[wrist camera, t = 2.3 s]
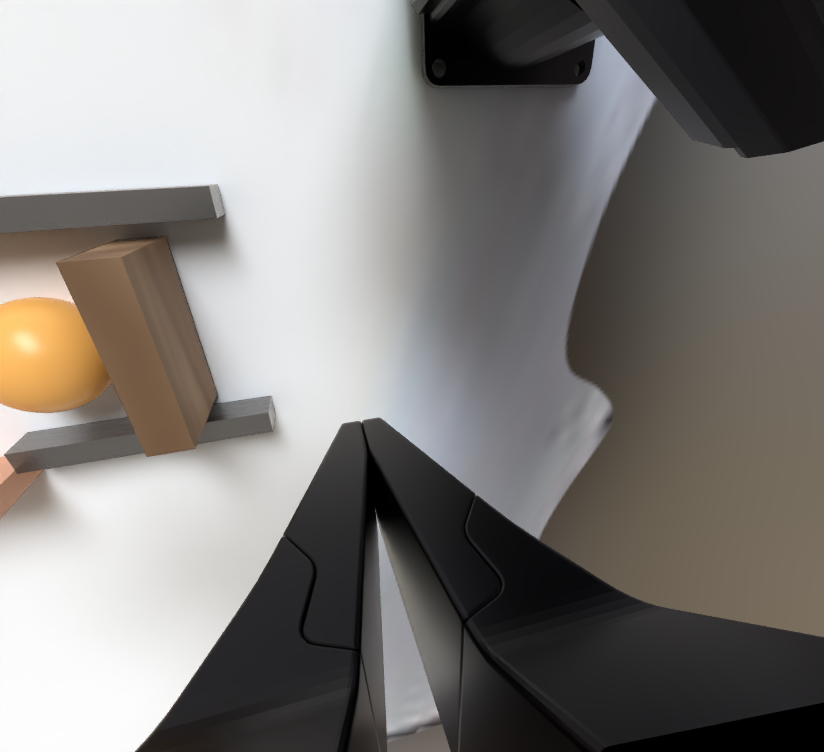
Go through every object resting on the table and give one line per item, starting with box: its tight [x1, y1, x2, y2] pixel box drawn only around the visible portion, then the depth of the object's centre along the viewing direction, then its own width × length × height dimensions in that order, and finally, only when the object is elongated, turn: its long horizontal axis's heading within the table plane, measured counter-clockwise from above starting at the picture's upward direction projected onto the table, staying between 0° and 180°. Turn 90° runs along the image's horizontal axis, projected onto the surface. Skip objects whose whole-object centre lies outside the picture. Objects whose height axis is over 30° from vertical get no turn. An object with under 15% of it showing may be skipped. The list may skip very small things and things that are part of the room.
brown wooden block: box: [56, 236, 217, 457], centre depth 14 cm, size 2×7×4 cm, turn 3°
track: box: [0, 184, 275, 474], centre depth 15 cm, size 10×10×2 cm
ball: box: [0, 297, 112, 413], centre depth 14 cm, size 4×4×4 cm
